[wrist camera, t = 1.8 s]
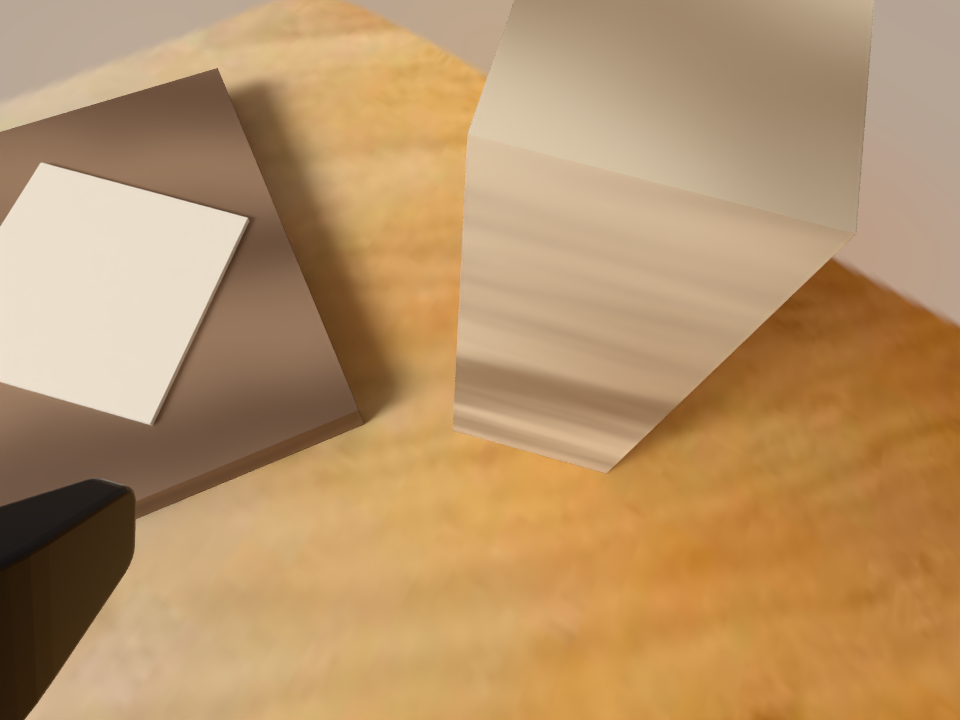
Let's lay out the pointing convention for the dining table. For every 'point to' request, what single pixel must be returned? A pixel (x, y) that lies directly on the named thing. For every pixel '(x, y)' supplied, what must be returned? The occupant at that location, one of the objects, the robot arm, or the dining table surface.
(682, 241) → the birch pillar block
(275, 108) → the dining table surface
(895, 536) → the dining table surface
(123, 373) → the walnut base board
